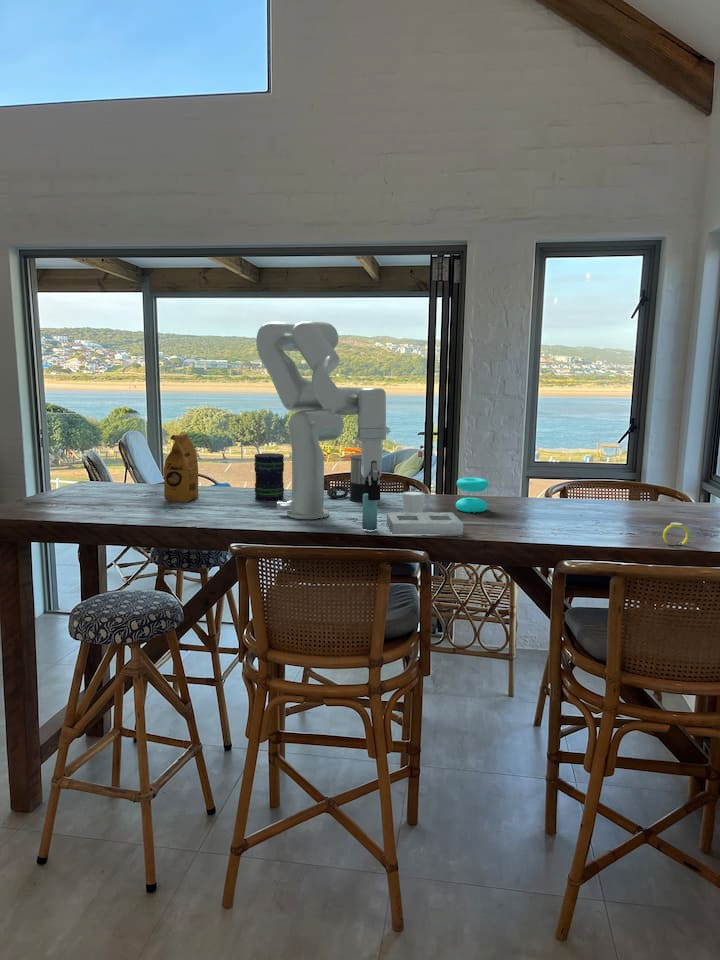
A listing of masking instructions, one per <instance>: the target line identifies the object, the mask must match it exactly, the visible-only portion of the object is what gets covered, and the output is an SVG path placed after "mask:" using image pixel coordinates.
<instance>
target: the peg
mask: <svg viewBox="0 0 720 960" xmlns="http://www.w3.org/2000/svg"><path fill="white" fill-rule="evenodd" d="M361 519H362V521H361V522H362V525H361V526H362V528H363V529H367V530H375V529H377V530H378V500H371V501H370V500H368V493H366V494H363V502H362V518H361ZM362 528H361V529H362Z"/></svg>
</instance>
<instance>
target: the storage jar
mask: <svg viewBox="0 0 720 960" xmlns="http://www.w3.org/2000/svg"><path fill="white" fill-rule="evenodd" d="M284 456H285V455H284V454H282V453H275V452H274V453H273V452H271V453H270V452H269V453H267V452H266V453H257V454H254V472H255V482H254V496H255V497H254V500H255V501H257V500H258V502H263V501H265V503H266V502H267V501H275V502H279V501H278V500H281V501H283V500H284V495H285V493H284V492H285V487H284V485H285V483H284V471H285V469H284V468H285V462H284ZM267 503H268V502H267Z"/></svg>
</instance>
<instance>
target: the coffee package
mask: <svg viewBox="0 0 720 960" xmlns="http://www.w3.org/2000/svg"><path fill="white" fill-rule="evenodd" d="M170 440H172V441H173V442H174V443H173V444H172V447H171V451H170V452H169V454H168V455H167V457H166V459H165V460H164V464H163V465H164V466H163V480H164V481H163V482H164V483H163V487H164V494H163V498H164V500H165V501H166V502H168V503H170V502H171V503H181V502H182V503H183V502H187V503H189V502H190V501H191V500H193V499H195V500H196V499H197V498H198V497H199V496H200V494H199V463H198V455H197V450H196V448H195V445H194V444H193V442H192V440H191V439H190V437H189V435H188V433H187V432H186V431H184V432H182V433H181V434H172V435H171V436H170Z"/></svg>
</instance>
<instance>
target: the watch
mask: <svg viewBox="0 0 720 960" xmlns="http://www.w3.org/2000/svg"><path fill="white" fill-rule="evenodd" d="M673 527H674V528H683V530H684V532H685V537H684V539H683V541H681V542H680V543H682V544H684V545H685V544H687V542H688V541H689V536H690V535H689V531H688V529H687V528H686V527H685V526H684V525H683V523H681V522H670V524H669V525H667V526H666V527H665V528H664V530H663V532H662V538H663V541H664V543H665V544H667V543H669V542H668V540H667V537H666V535H667V532H668V531H669V530H670V529H671V528H673Z"/></svg>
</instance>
